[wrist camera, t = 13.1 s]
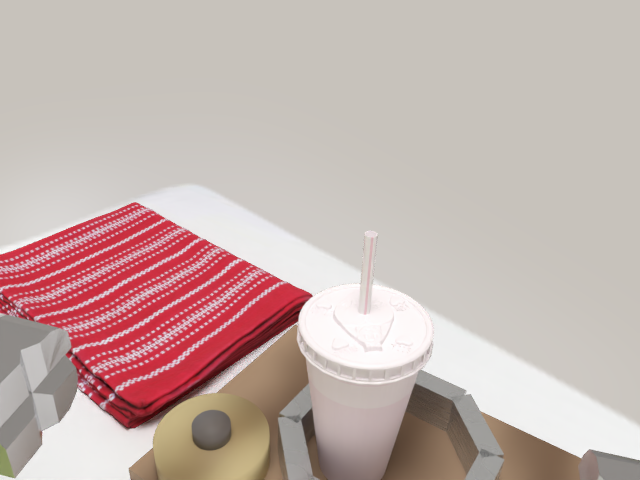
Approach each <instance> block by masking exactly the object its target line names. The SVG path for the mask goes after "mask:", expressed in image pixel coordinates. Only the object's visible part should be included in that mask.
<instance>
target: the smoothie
mask: <svg viewBox="0 0 640 480" xmlns="http://www.w3.org/2000/svg"><path fill="white" fill-rule="evenodd" d="M377 235H378V234H377V233H376V232H374V231H367V232H365V238H364V249H363V261H362V273H361V283H353V284H343V285H339V286H334V287H331V288H328V289H326V290H323V291H321V292H319V293H317V294H316V295H314V296H313V297H312V298H310V299H309V300H308V301H307V302H306V303H305V305H304V306H303V308H302V309H301V312H300V314H299V320H298V329H297V342H298V345H299V348H300V351H301V353H302V354H303V355H304V356H305V358H306V365H307V372H308V379H309V387H310V395H311V403H312V411H313V419H314V427H315V435H316V442H317V450H318V458H319V465H320V469H321V471H322V473H323V474H324V476H325V477H326V478H327V479H328V480H381V478H382V477H383V475H384V473H385V471H386V468H387V465H388V462H389V459H390V456H391V453H392V450H393V447H394V444H395V441H396V438H397V435H398V432H399V429H400V426H401V423H402V420H403V417H404V414H405V411H406V408H407V405H408V402H409V399H410V396H411V393H412V390H413V387H414V384H415V382H416V378H417V375H418V372H419V370H421V369H422V368H423V367H424V366H425V365H426V363H427V362H428V360H429V359H430V357H431V354H432V348H433V336H434V327H433V323H432V320H431V318H430V316H429V314H428V313H427V311H426V310H425V309H424V308H423V307H422V306H421V305H420V304H419V303H418V302H416V301H415V300H414V299H412V298H411V297H409V296H407V295H405V294H404V293H402V292H399V291H397V290H394V289H391V288H388V287H384V286H380V285H374V284H373V276H374V265H375V256H376V246H377V245H376V244H377Z"/></svg>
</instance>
